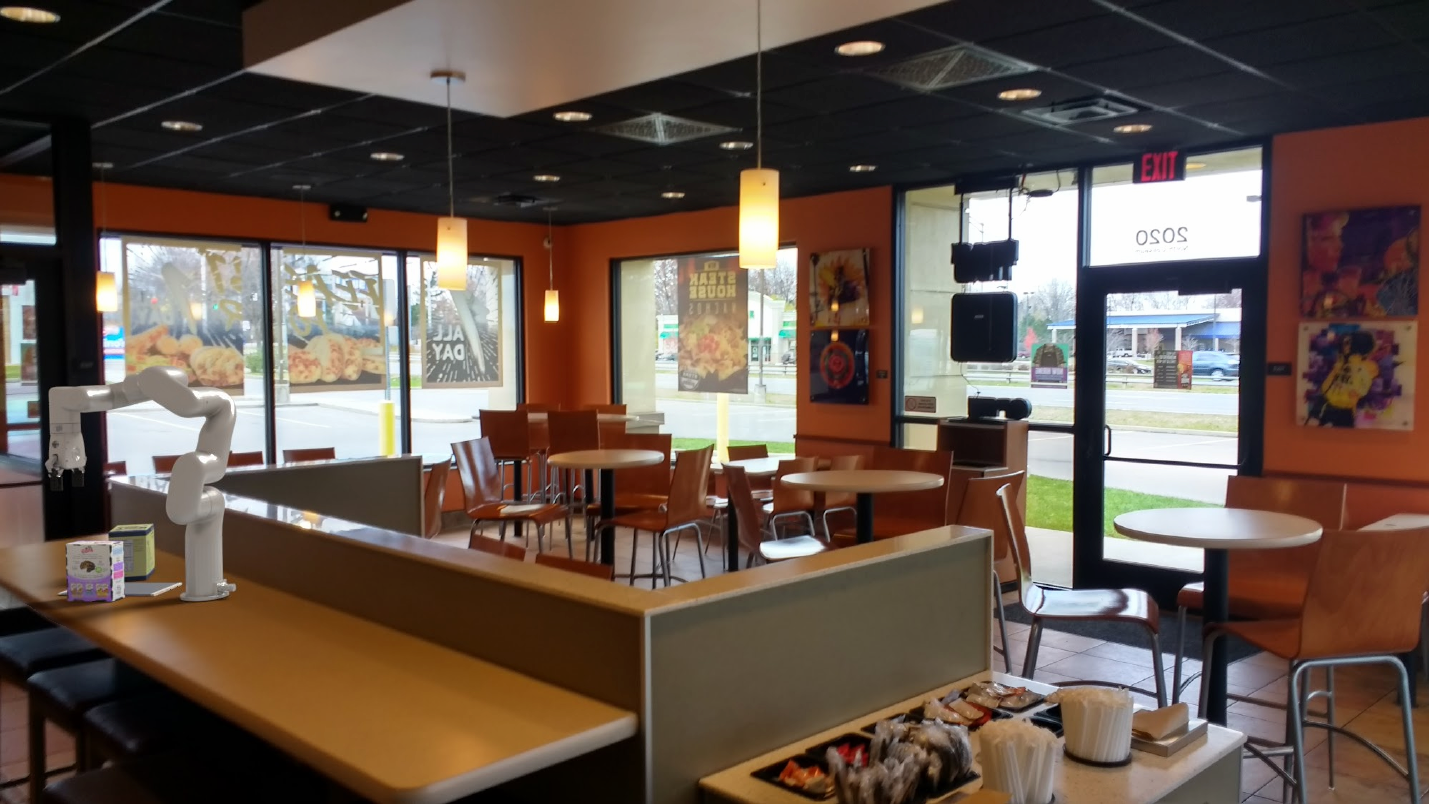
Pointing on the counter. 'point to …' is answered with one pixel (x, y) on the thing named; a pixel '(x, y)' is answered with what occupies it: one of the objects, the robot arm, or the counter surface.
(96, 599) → the candy box
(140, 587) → the gray flat board
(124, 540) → the protein box
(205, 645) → the counter surface
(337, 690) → the counter surface
